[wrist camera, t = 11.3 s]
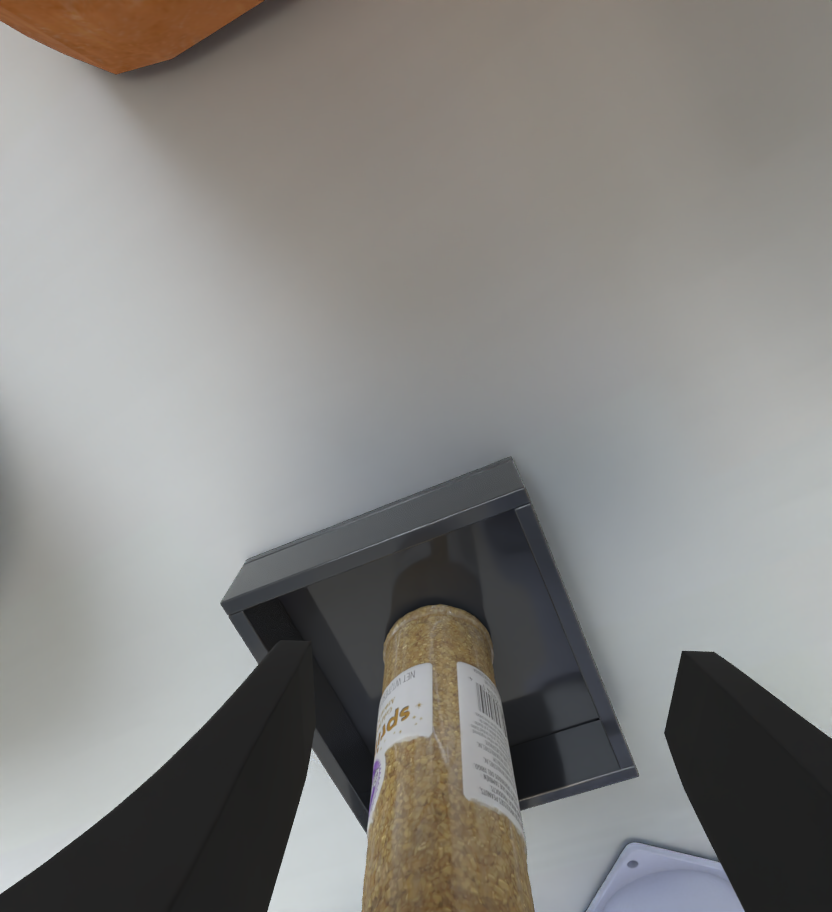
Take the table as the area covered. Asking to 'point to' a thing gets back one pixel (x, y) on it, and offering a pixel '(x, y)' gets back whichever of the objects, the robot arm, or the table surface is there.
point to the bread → (121, 27)
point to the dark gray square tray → (430, 583)
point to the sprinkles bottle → (443, 776)
